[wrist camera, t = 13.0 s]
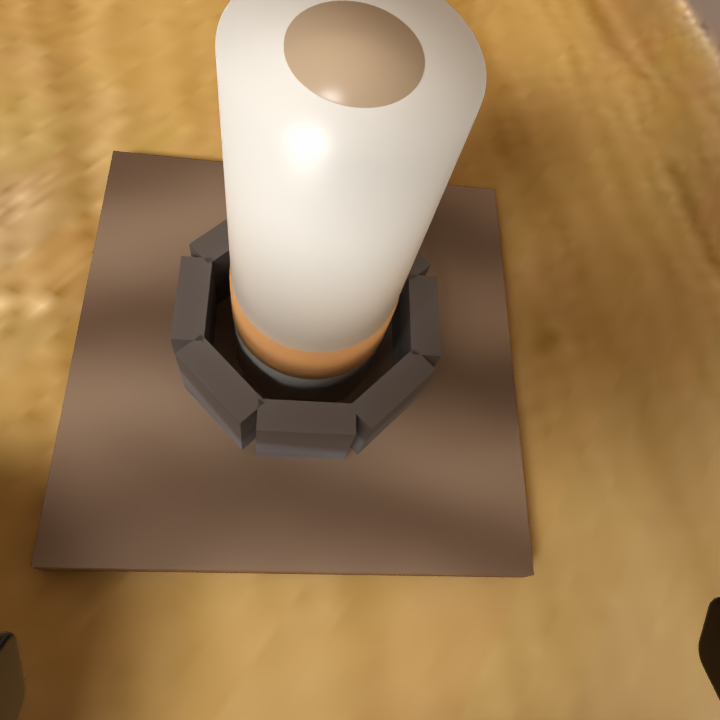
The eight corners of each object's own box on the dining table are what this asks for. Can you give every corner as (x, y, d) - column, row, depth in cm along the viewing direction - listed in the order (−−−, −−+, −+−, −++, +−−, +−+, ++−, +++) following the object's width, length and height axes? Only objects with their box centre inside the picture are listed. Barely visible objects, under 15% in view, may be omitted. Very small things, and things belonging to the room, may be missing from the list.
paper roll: (397, 373, 24) (542, 111, 12) (274, 434, 22) (296, 203, 10) (331, 265, 25) (400, -67, 13) (211, 315, 23) (164, -12, 11)
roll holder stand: (522, 577, 22) (574, 566, 19) (40, 569, 20) (-7, 555, 16) (487, 203, 29) (521, 140, 25) (118, 167, 26) (96, 93, 23)
